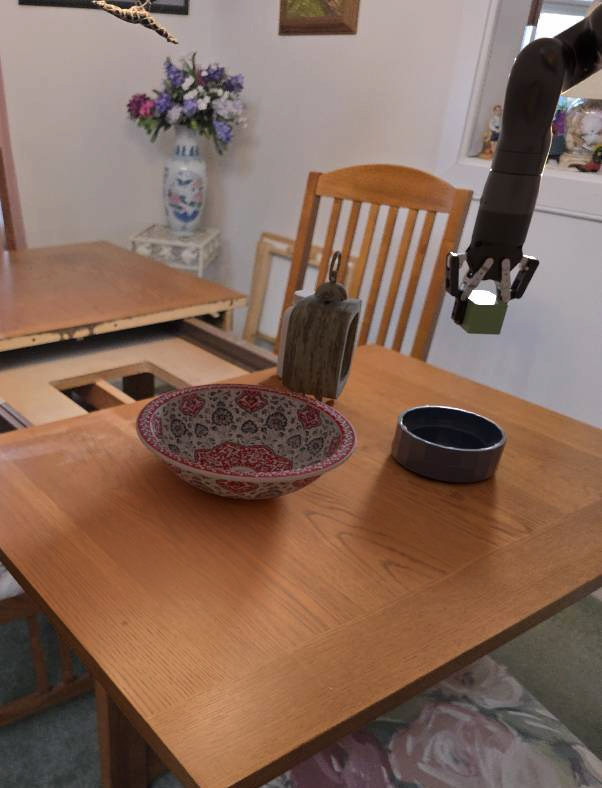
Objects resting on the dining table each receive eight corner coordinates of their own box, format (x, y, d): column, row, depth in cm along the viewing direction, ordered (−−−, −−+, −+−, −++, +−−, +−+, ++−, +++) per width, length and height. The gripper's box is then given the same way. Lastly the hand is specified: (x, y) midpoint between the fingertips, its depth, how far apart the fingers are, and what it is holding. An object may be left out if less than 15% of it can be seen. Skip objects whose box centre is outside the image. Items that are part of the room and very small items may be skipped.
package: (480, 319, 115) (488, 290, 113) (499, 334, 109) (508, 305, 106) (450, 318, 115) (457, 289, 112) (468, 333, 108) (475, 303, 106)
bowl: (472, 439, 112) (481, 406, 109) (513, 486, 99) (525, 451, 96) (378, 437, 111) (385, 404, 108) (408, 485, 98) (417, 450, 95)
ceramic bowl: (90, 481, 95) (88, 426, 90) (217, 415, 115) (220, 368, 110) (274, 565, 81) (282, 506, 76) (382, 474, 101) (393, 422, 96)
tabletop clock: (329, 428, 113) (357, 264, 99) (275, 417, 115) (294, 256, 101) (346, 396, 124) (372, 245, 110) (296, 387, 126) (315, 239, 112)
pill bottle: (327, 376, 131) (340, 294, 123) (302, 387, 126) (314, 302, 118) (292, 365, 136) (302, 285, 127) (267, 375, 131) (276, 292, 122)
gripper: (467, 209, 98) (438, 330, 108) (566, 213, 99) (529, 333, 109) (449, 200, 105) (423, 315, 114) (542, 204, 106) (509, 318, 115)
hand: (475, 323), depth 111 cm, fingers closed on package, 5 cm apart
